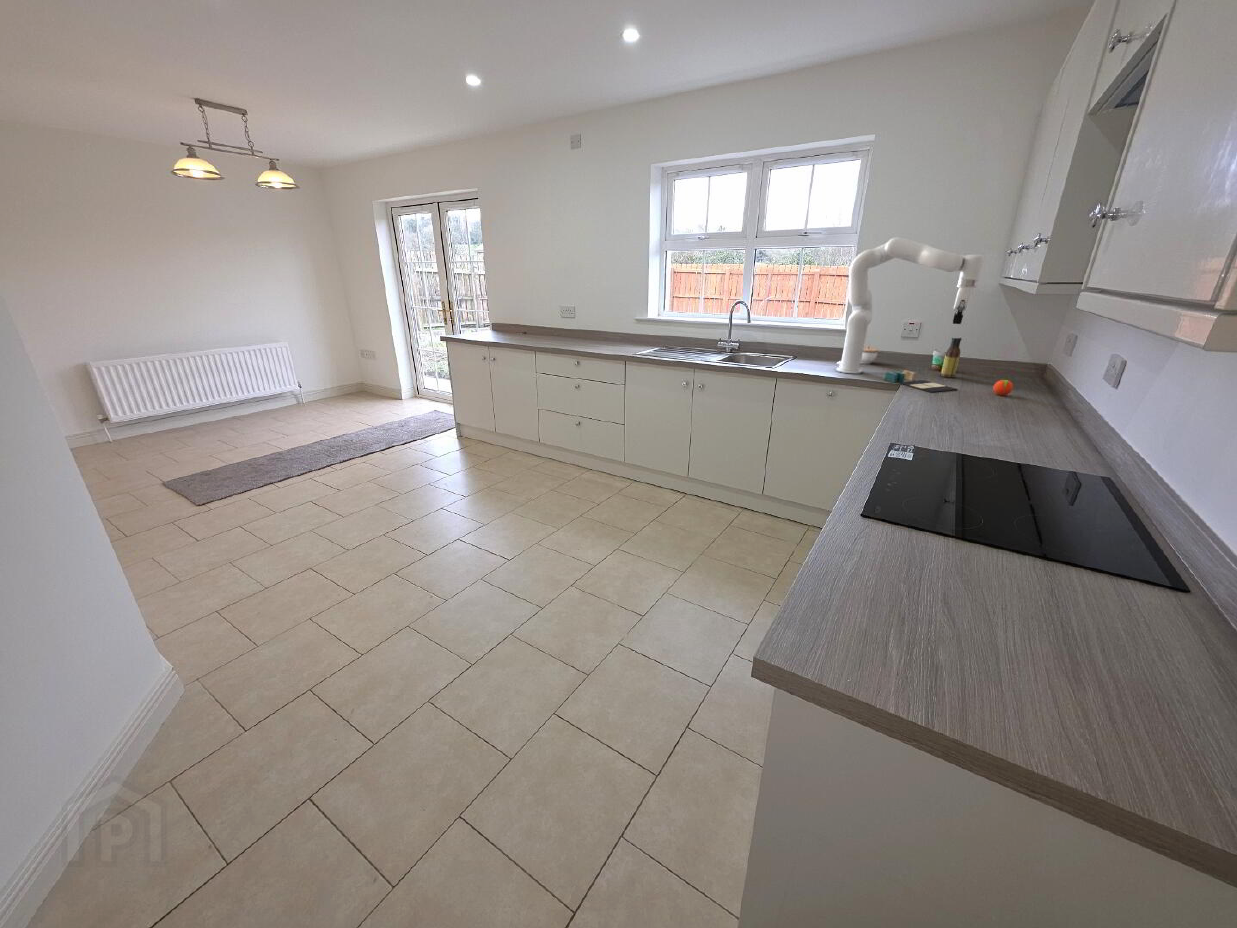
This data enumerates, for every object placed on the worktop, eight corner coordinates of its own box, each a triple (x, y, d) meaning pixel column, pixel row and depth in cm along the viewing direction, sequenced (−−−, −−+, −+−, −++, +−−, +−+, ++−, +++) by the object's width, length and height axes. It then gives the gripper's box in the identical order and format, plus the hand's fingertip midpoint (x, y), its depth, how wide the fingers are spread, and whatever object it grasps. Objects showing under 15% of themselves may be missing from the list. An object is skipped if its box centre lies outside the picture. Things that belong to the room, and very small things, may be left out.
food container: (923, 368, 267) (928, 350, 264) (930, 367, 270) (935, 349, 266) (945, 373, 257) (950, 354, 253) (952, 372, 260) (958, 353, 256)
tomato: (1011, 398, 212) (1016, 382, 209) (992, 396, 215) (997, 380, 212) (1009, 394, 218) (1014, 379, 215) (990, 392, 221) (995, 377, 218)
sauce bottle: (950, 375, 252) (961, 336, 244) (957, 378, 246) (968, 338, 239) (937, 375, 253) (947, 336, 245) (943, 377, 247) (954, 338, 239)
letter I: (901, 378, 246) (903, 370, 244) (904, 378, 246) (906, 370, 245) (911, 381, 240) (913, 373, 239) (914, 380, 241) (916, 372, 239)
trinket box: (867, 365, 275) (871, 348, 271) (851, 361, 283) (854, 345, 280) (879, 363, 279) (883, 347, 276) (863, 360, 288) (866, 344, 284)
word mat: (898, 383, 236) (899, 382, 236) (923, 381, 240) (924, 380, 240) (931, 392, 220) (931, 391, 220) (957, 390, 225) (957, 388, 225)
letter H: (884, 379, 243) (886, 372, 241) (893, 379, 244) (895, 371, 243) (893, 382, 237) (895, 374, 236) (903, 381, 239) (905, 373, 237)
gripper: (957, 283, 229) (947, 320, 236) (957, 284, 216) (946, 324, 222) (976, 283, 225) (965, 321, 232) (977, 285, 212) (966, 325, 219)
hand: (956, 322), depth 227 cm, fingers open, 9 cm apart
